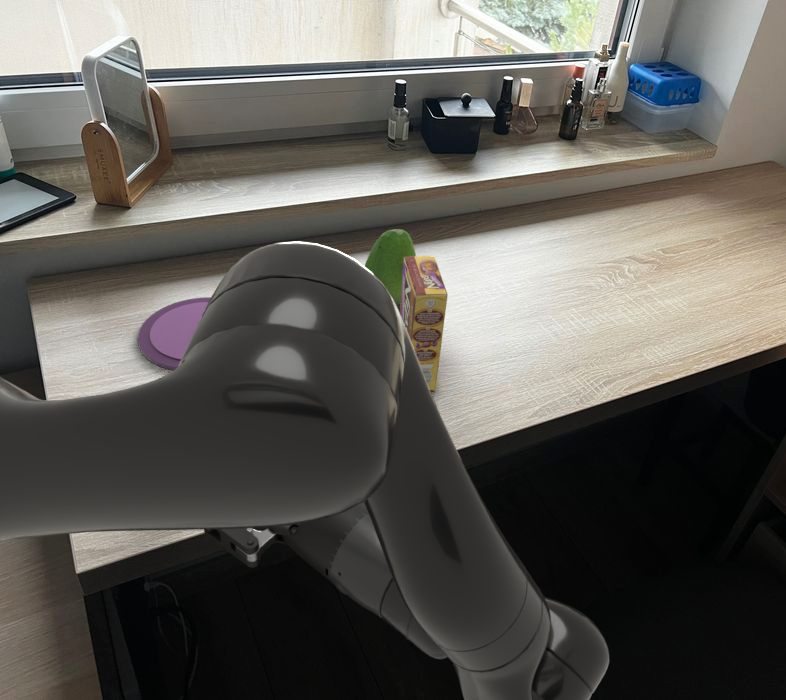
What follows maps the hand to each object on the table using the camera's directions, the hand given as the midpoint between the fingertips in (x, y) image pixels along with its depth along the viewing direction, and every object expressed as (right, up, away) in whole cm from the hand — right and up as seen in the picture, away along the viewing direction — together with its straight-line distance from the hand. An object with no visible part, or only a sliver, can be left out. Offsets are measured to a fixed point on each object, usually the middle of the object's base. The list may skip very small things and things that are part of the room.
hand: (235, 446), depth 65 cm
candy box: (+14, +6, +32) cm, 36 cm away
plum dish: (-15, +11, +34) cm, 39 cm away
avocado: (+9, +16, +44) cm, 48 cm away
